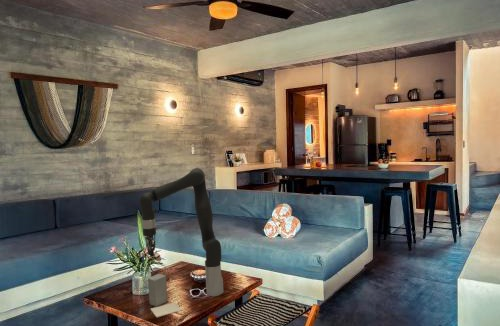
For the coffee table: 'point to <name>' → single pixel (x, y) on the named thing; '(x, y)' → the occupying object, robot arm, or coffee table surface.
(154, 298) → the skincare box
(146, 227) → the robot arm
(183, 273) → the coffee table surface
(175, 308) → the mat
